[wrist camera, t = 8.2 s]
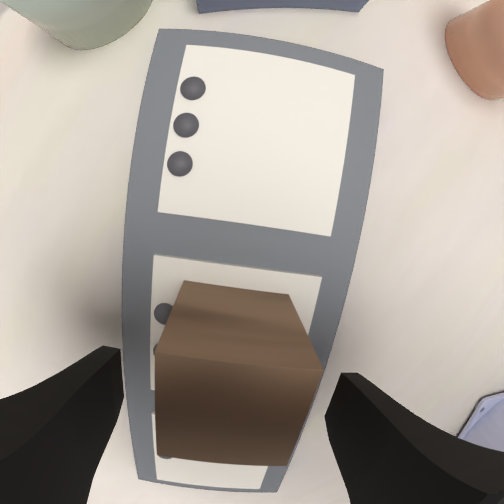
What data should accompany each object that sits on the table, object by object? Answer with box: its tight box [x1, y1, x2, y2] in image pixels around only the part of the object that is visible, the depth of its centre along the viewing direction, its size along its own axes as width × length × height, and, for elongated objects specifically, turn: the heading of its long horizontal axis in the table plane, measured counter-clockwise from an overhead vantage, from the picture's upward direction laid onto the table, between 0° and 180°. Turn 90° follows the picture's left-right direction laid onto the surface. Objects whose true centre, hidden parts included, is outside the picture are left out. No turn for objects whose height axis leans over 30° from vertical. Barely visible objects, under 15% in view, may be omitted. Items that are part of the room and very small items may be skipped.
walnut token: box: [155, 280, 324, 466], centre depth 10 cm, size 4×4×5 cm
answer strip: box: [122, 29, 384, 492], centre depth 13 cm, size 24×9×1 cm, turn 171°
